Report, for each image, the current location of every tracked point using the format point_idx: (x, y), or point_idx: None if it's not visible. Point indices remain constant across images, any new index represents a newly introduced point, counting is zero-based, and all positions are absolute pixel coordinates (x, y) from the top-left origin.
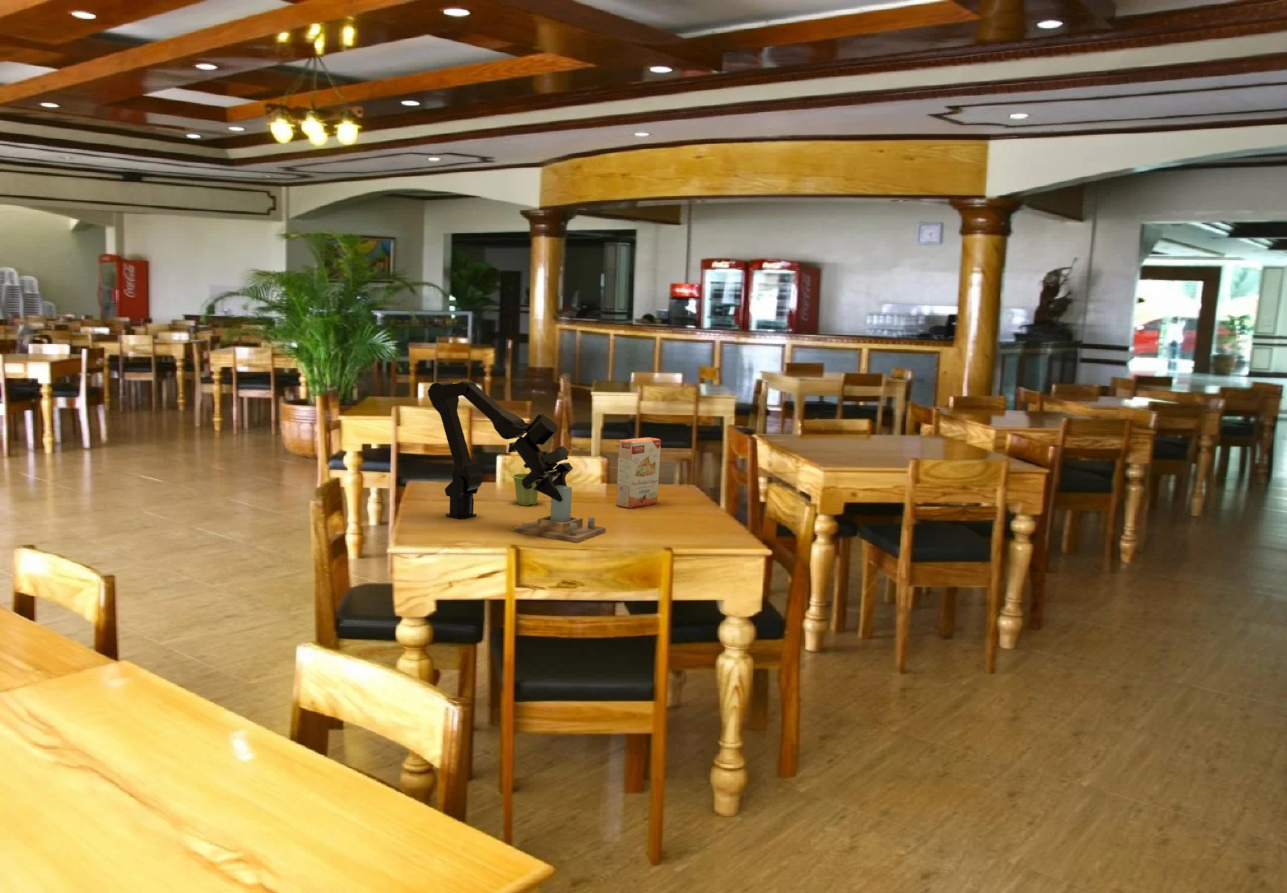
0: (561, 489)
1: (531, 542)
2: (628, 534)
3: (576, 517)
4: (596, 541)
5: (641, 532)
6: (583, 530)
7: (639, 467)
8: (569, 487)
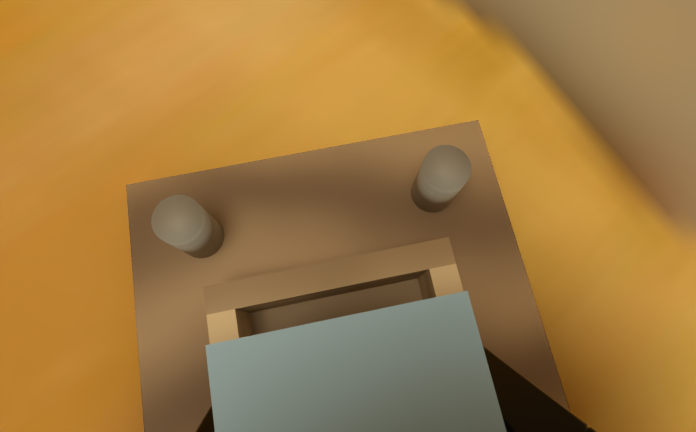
0: (482, 349)
1: (684, 303)
2: (101, 80)
3: (214, 339)
4: (363, 89)
5: (9, 64)
6: (294, 224)
7: None
8: (277, 339)
